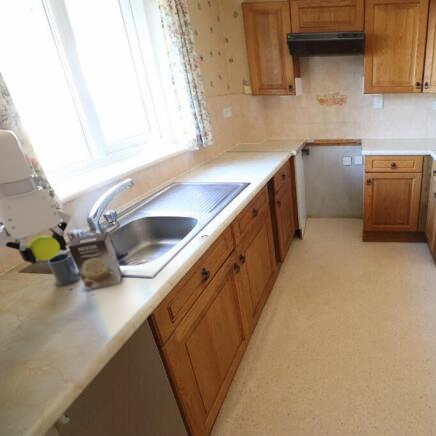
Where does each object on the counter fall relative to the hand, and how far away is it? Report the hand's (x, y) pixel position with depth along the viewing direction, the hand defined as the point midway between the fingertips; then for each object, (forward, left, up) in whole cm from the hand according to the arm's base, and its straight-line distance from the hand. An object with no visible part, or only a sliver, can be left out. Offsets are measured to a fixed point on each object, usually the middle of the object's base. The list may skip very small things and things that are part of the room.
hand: (47, 254), depth 80 cm
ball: (0, 0, +2) cm, 2 cm away
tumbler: (+9, +19, -19) cm, 29 cm away
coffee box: (+13, +7, -20) cm, 25 cm away
